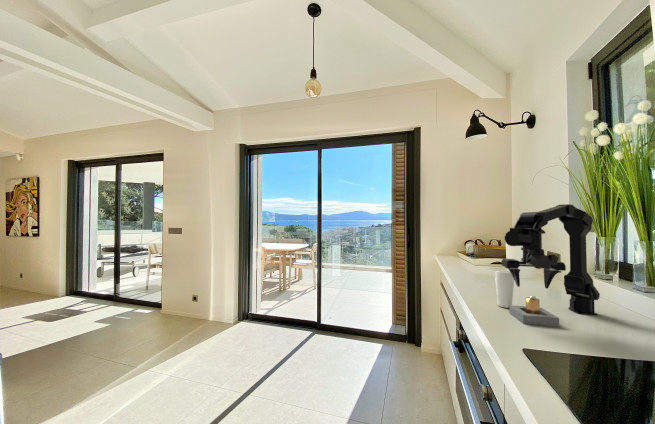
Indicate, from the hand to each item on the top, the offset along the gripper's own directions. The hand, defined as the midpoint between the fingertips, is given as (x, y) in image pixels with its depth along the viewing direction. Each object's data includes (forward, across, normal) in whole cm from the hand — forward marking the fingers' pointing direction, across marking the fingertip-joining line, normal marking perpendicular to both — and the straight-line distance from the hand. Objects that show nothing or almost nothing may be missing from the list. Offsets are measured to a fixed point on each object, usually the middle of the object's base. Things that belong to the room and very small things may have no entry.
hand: (532, 287), depth 99 cm
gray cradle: (+12, 0, 0) cm, 12 cm away
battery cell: (+11, 0, 0) cm, 11 cm away
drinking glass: (+12, -4, +14) cm, 19 cm away
